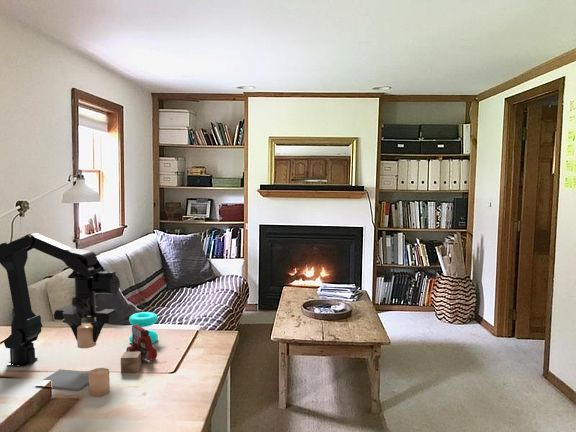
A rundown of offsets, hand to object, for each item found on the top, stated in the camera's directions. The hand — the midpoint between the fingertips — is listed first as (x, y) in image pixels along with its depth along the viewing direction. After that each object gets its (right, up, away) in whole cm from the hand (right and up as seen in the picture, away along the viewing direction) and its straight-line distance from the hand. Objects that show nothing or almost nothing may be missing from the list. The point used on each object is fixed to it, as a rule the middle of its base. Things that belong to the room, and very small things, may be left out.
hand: (86, 341), depth 151 cm
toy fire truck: (+15, -9, +9) cm, 19 cm away
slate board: (-2, -10, -8) cm, 13 cm away
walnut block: (+14, -9, 0) cm, 17 cm away
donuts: (+10, -7, +25) cm, 28 cm away
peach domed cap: (+10, -10, -15) cm, 21 cm away
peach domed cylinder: (0, -1, 0) cm, 1 cm away
